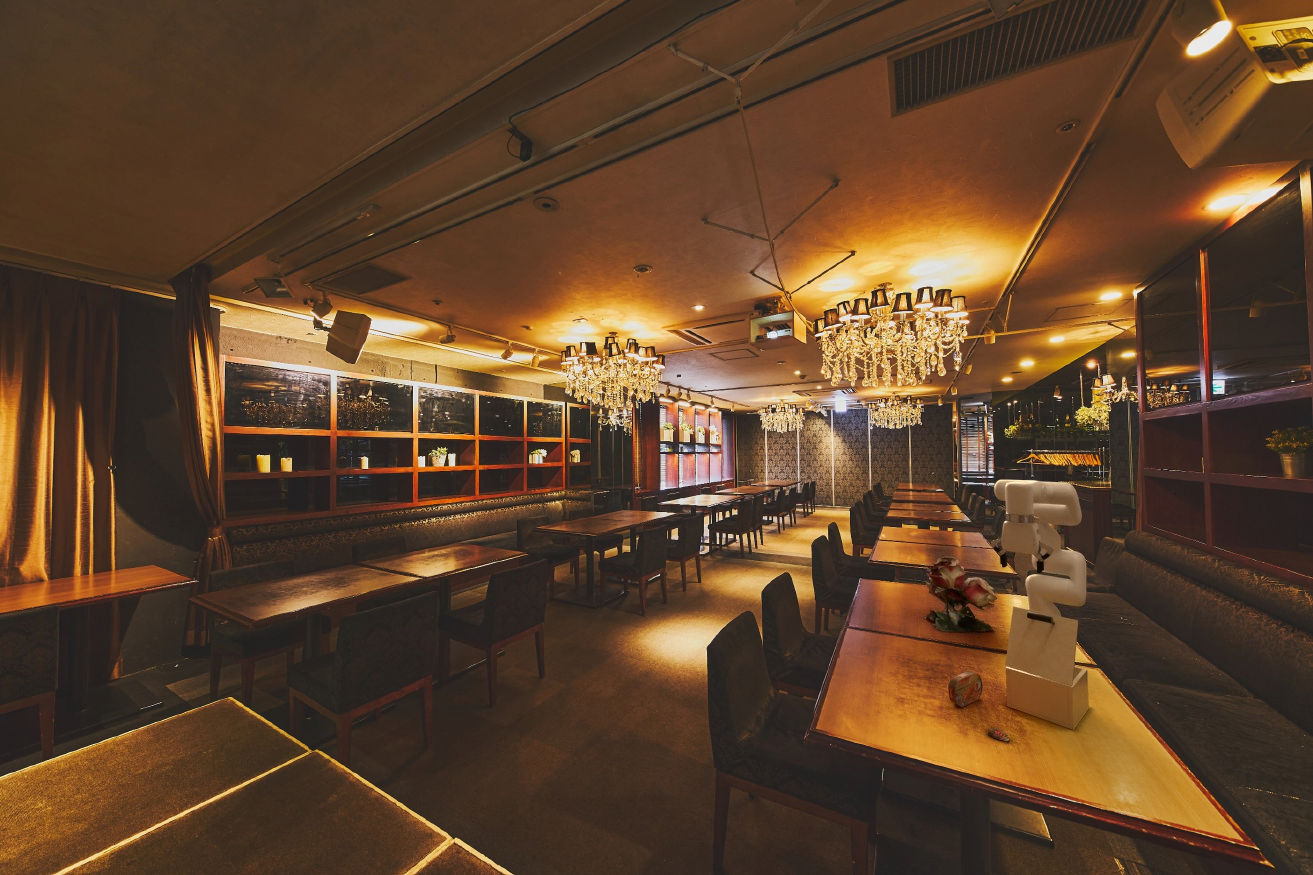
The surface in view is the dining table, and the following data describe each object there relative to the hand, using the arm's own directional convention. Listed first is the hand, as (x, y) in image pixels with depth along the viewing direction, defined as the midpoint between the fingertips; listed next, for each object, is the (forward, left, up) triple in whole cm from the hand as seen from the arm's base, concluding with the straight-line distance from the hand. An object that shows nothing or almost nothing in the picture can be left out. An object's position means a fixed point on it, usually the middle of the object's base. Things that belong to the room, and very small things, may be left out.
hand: (1021, 569), depth 158 cm
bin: (+8, +8, -40) cm, 41 cm away
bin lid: (+12, +8, -19) cm, 24 cm away
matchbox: (+37, +4, -40) cm, 55 cm away
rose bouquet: (-49, -39, -40) cm, 75 cm away
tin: (+24, -9, -40) cm, 48 cm away
